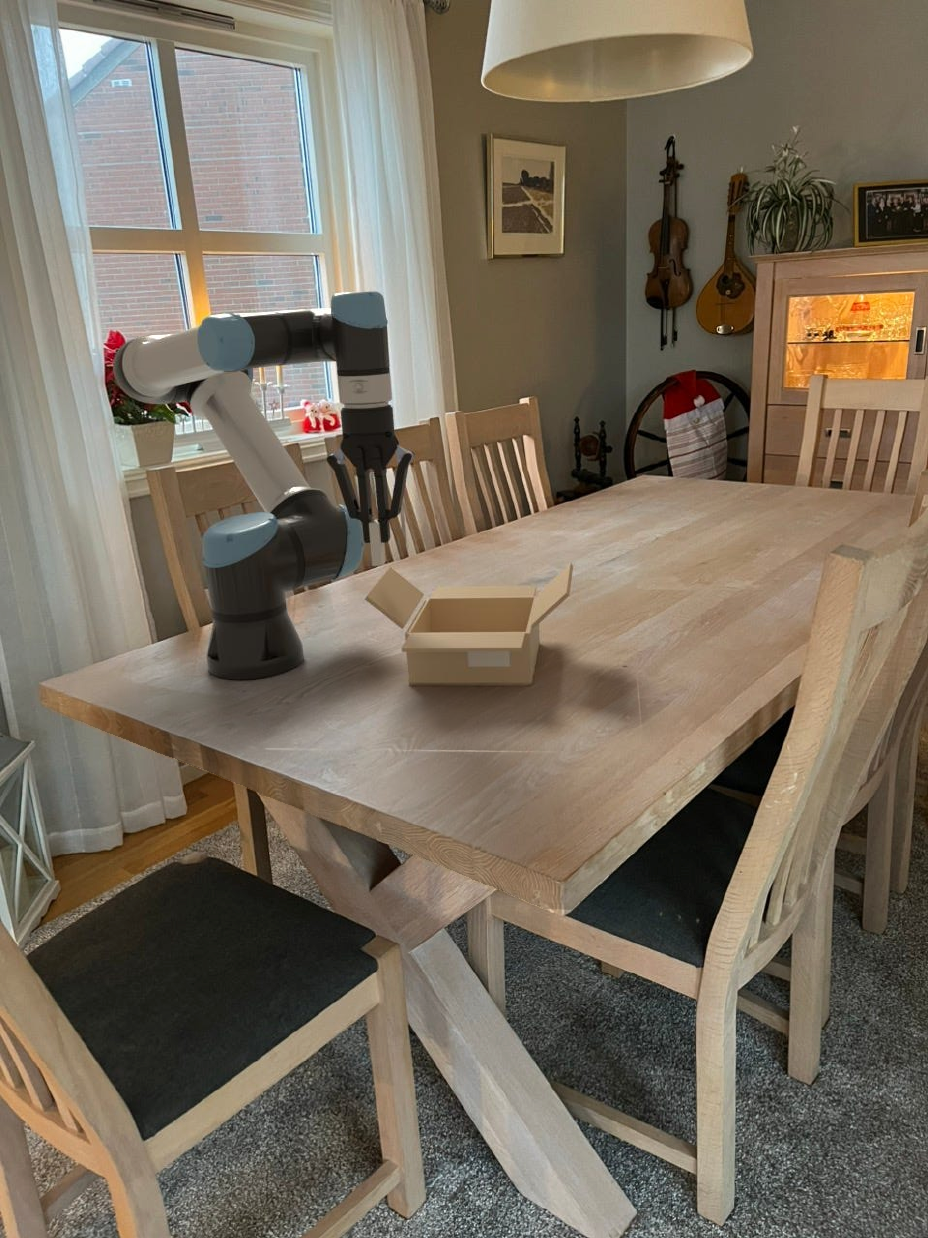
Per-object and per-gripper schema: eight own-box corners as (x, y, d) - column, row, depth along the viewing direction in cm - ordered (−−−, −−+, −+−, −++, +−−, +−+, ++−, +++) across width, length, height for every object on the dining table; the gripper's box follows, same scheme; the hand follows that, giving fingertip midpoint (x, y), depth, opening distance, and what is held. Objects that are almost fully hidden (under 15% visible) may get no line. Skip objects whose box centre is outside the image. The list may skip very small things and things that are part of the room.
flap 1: (402, 629, 141) (364, 599, 140) (422, 597, 156) (388, 569, 155) (404, 626, 141) (366, 596, 140) (424, 594, 156) (390, 566, 155)
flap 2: (531, 625, 138) (566, 592, 136) (538, 592, 153) (570, 562, 151) (534, 628, 138) (569, 595, 136) (541, 595, 153) (573, 565, 151)
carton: (400, 701, 137) (396, 648, 134) (436, 632, 165) (433, 587, 162) (528, 702, 134) (526, 647, 132) (542, 631, 162) (540, 585, 160)
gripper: (315, 409, 137) (330, 570, 144) (405, 405, 135) (416, 569, 142) (329, 403, 144) (343, 557, 151) (415, 400, 142) (425, 556, 149)
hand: (379, 563), depth 147 cm, fingers closed
